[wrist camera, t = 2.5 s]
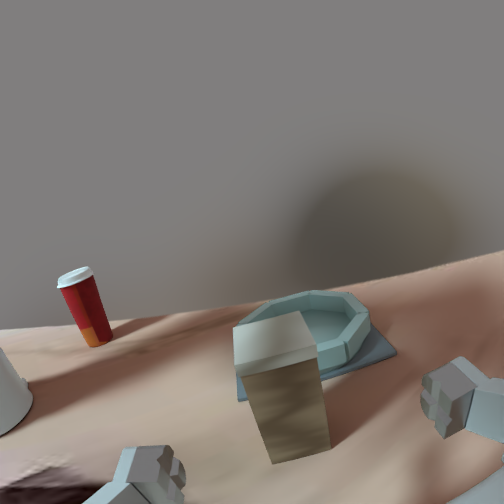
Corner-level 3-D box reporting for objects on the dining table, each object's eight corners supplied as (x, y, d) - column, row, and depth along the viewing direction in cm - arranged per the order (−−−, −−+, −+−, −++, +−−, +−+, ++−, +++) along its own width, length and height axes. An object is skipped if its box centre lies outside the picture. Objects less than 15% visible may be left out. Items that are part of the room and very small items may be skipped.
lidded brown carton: (271, 465, 21) (234, 365, 18) (265, 425, 26) (232, 327, 23) (332, 449, 21) (316, 344, 18) (318, 411, 26) (299, 310, 23)
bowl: (247, 396, 30) (239, 372, 30) (241, 329, 46) (235, 309, 45) (388, 354, 31) (387, 329, 30) (342, 301, 46) (339, 281, 45)
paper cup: (116, 327, 58) (91, 263, 55) (119, 340, 52) (91, 269, 48) (83, 339, 55) (57, 276, 52) (82, 354, 48) (52, 284, 45)
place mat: (238, 401, 30) (237, 399, 30) (235, 333, 46) (234, 330, 46) (396, 354, 31) (396, 351, 30) (349, 301, 46) (349, 299, 46)
